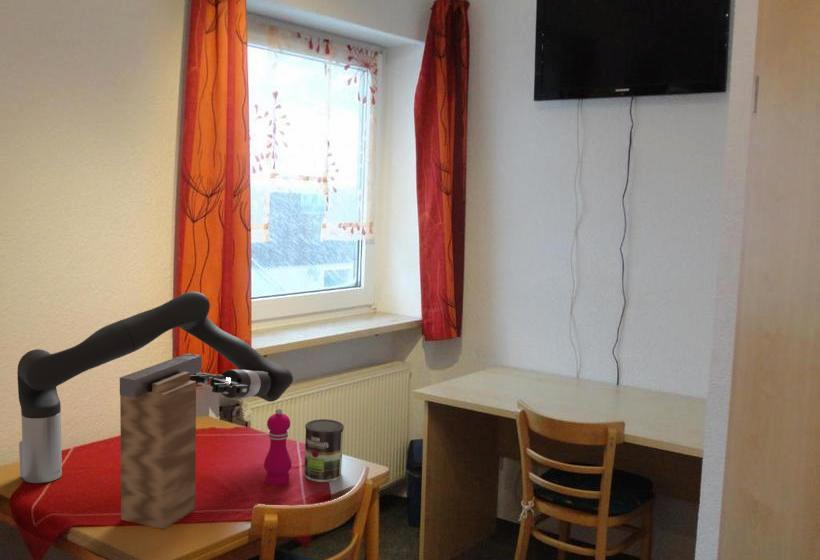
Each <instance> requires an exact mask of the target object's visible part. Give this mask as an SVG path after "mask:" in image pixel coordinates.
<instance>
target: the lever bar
mask: <svg viewBox="0 0 820 560" xmlns="http://www.w3.org/2000/svg"><path fill="white" fill-rule="evenodd" d="M202 360H203V357H202V354H201V355H200V354H195V353H194V354H193V353H189V352H188V353H187V352H186V353H185V354H182V355H180V356H177V357H174V358H171V359H168V360H164V361H162V362H159V363H156V364H155V365H151V366H148V367H146V368H142V369H140V370H137V371H134V372H131V373H129V374H126V375H123V376H120V377H119V396H120V395H121V396H127V397H133V398H136V397H138V396H141V395H143V394H146V393H148V392H151V391H152V384H153V383H156V382H158V381H161V380H163V379H166V378H169V377H171V376H174V375H176V374H179V373H181V372H184V371H186V372H190V376H191V375H193V374H196V373H202V366H203V365H202V362H203V361H202Z"/></svg>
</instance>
